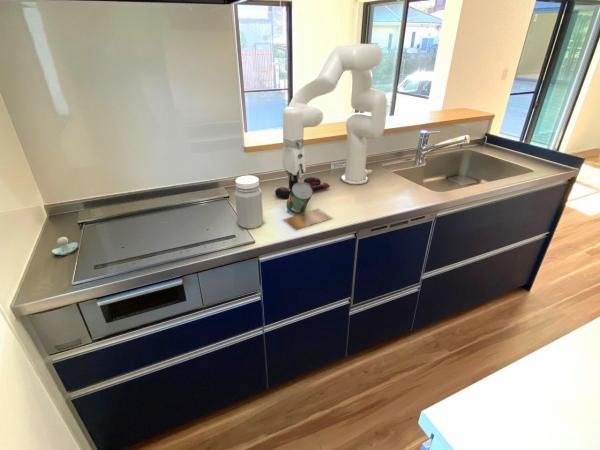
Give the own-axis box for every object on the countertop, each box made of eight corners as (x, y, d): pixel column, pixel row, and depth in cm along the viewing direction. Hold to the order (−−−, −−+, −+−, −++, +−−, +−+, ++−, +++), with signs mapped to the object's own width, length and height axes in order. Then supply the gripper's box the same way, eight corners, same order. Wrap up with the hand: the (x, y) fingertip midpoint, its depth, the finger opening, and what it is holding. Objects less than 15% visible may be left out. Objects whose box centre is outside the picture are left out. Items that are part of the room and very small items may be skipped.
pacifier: (51, 253, 114) (56, 260, 110) (43, 237, 111) (49, 243, 107) (75, 244, 119) (81, 250, 115) (68, 228, 116) (75, 234, 112)
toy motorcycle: (272, 198, 153) (295, 205, 142) (270, 187, 151) (294, 192, 140) (312, 185, 168) (336, 189, 157) (311, 174, 166) (336, 178, 155)
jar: (234, 220, 133) (230, 176, 124) (258, 215, 137) (255, 172, 128) (241, 232, 125) (237, 186, 117) (267, 226, 129) (264, 182, 120)
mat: (317, 209, 141) (317, 209, 141) (330, 218, 134) (330, 218, 134) (283, 220, 133) (283, 219, 133) (296, 229, 127) (296, 229, 127)
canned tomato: (283, 199, 140) (289, 182, 131) (301, 197, 142) (308, 181, 133) (289, 215, 136) (295, 199, 127) (307, 213, 139) (315, 197, 130)
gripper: (313, 146, 123) (311, 193, 132) (291, 136, 134) (291, 181, 143) (295, 149, 120) (295, 197, 129) (274, 139, 131) (275, 184, 140)
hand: (293, 188), depth 136 cm, fingers closed
